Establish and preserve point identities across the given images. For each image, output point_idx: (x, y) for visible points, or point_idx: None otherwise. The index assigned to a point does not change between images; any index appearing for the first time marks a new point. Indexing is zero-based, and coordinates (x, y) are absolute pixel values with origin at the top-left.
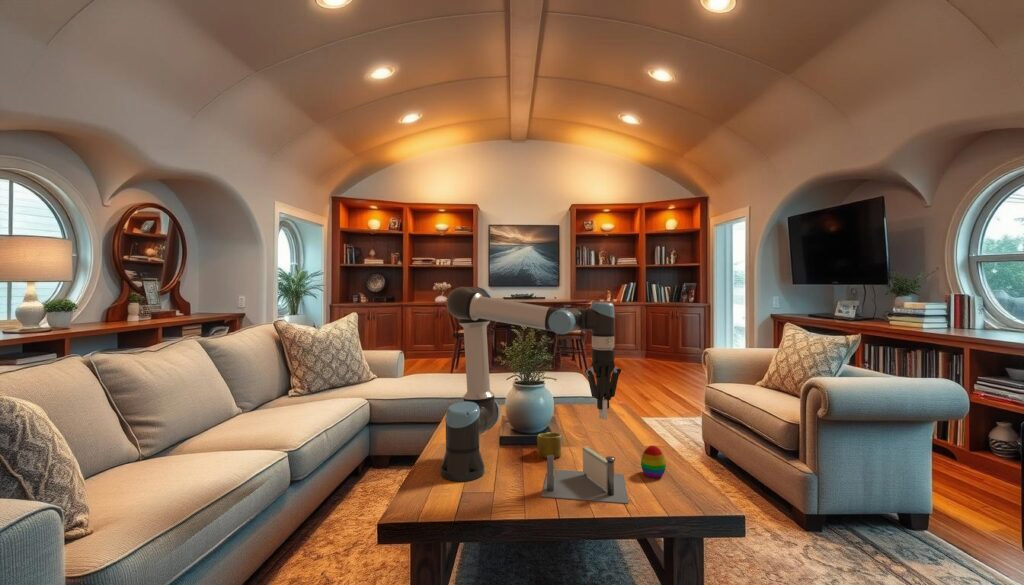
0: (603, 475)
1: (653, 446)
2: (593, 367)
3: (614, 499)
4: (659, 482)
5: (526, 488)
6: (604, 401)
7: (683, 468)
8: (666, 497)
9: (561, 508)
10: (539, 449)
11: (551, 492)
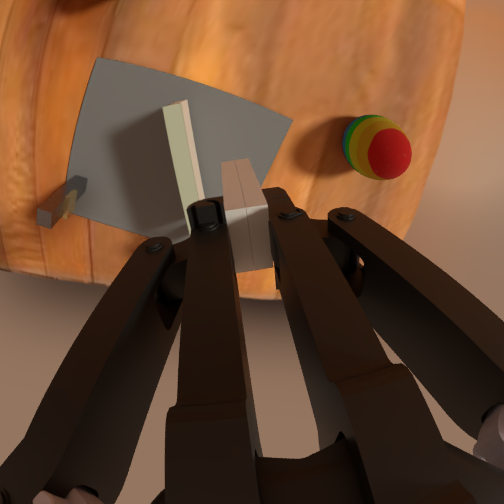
0: None
1: (399, 163)
2: None
3: None
4: (348, 181)
5: (38, 166)
6: (245, 265)
7: (435, 133)
8: None
9: (97, 256)
10: None
11: (81, 196)
